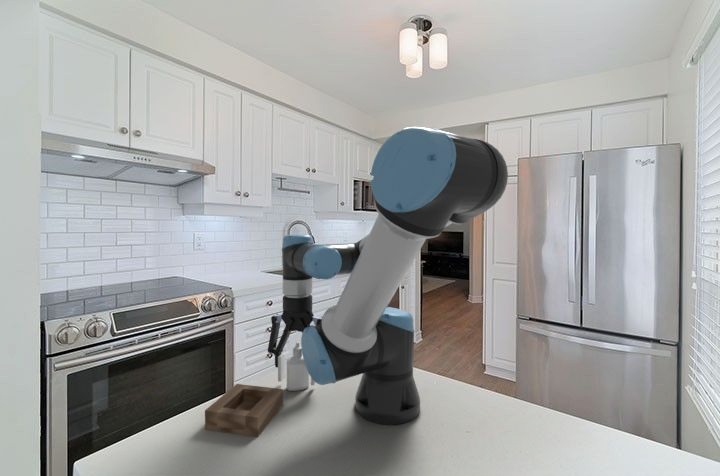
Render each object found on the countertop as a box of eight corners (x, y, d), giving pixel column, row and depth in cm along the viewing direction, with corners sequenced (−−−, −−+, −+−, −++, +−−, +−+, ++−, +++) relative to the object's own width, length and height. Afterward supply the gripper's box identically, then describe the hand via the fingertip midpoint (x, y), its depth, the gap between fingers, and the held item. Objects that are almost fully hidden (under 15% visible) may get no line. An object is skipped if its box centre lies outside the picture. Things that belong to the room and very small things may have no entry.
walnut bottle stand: (283, 405, 81) (283, 389, 81) (258, 436, 69) (258, 417, 69) (236, 400, 83) (236, 383, 83) (205, 429, 72) (204, 410, 72)
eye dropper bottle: (305, 392, 87) (305, 346, 87) (284, 390, 88) (284, 344, 88) (310, 384, 92) (310, 340, 91) (290, 383, 92) (290, 338, 92)
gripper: (341, 293, 90) (340, 378, 91) (266, 289, 94) (267, 371, 96) (333, 300, 83) (332, 392, 84) (252, 295, 87) (253, 383, 88)
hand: (297, 380), depth 90 cm, fingers open, 8 cm apart
